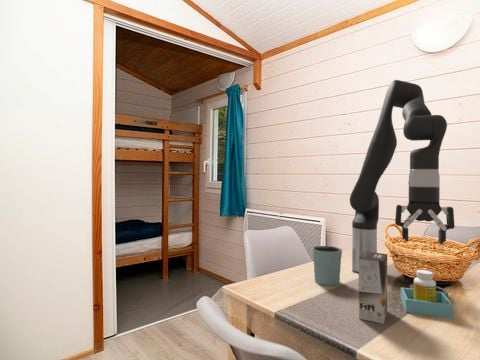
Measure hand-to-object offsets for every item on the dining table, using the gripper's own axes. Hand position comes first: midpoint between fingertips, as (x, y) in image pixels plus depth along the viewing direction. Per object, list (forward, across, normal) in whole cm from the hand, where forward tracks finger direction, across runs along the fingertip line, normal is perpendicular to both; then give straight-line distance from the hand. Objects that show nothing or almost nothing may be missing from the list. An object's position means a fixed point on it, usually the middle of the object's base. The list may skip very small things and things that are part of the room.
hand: (423, 242), depth 85 cm
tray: (+19, +1, 0) cm, 19 cm away
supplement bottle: (+18, 0, 0) cm, 18 cm away
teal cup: (+19, -28, +13) cm, 36 cm away
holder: (+19, +3, +11) cm, 22 cm away
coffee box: (+19, -13, -10) cm, 25 cm away
